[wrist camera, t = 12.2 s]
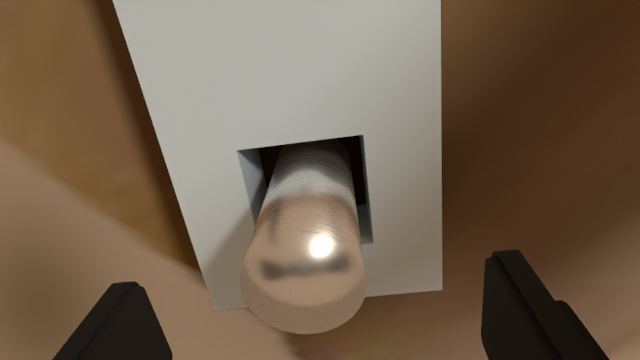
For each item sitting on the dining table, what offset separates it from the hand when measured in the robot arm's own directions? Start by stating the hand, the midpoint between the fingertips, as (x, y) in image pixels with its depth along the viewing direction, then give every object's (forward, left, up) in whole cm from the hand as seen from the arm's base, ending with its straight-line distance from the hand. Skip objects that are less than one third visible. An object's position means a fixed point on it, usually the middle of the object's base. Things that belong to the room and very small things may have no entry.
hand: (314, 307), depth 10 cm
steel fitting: (0, 0, -12) cm, 11 cm away
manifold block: (+1, -5, -11) cm, 12 cm away
